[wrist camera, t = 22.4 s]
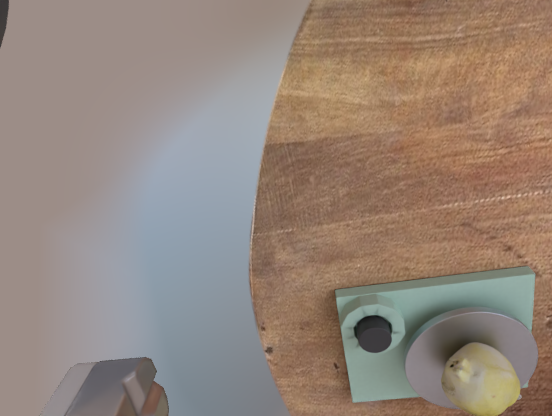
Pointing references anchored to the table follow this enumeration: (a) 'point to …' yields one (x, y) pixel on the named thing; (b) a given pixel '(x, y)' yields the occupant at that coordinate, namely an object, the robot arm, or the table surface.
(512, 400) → the fruit
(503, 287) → the scale
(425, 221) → the table surface
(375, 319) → the tare button
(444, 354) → the scale pan
